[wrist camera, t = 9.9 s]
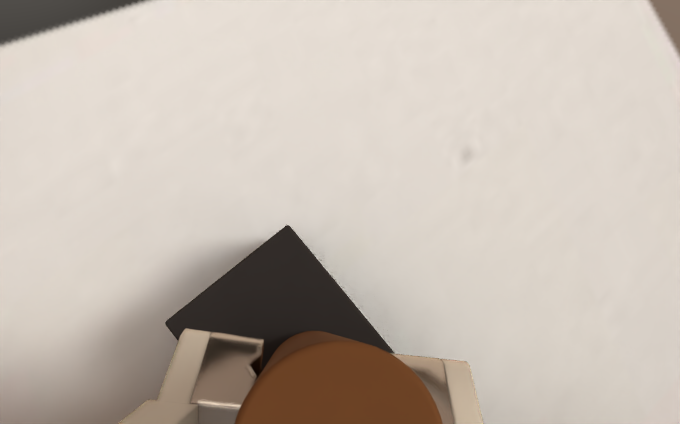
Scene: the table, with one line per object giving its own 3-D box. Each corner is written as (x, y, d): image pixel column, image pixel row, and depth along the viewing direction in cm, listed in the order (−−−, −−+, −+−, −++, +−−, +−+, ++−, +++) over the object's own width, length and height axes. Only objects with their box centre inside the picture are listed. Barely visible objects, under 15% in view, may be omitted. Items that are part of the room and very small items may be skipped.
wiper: (288, 235, 16) (281, 106, 7) (442, 421, 16) (686, 584, 6) (179, 322, 16) (-10, 322, 6) (335, 522, 15) (416, 899, 5)
